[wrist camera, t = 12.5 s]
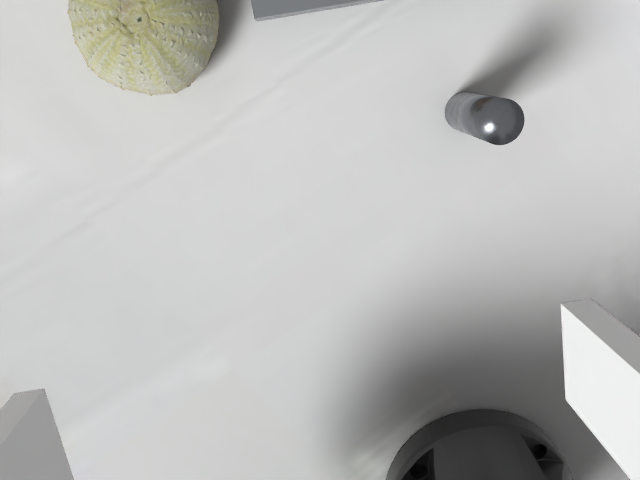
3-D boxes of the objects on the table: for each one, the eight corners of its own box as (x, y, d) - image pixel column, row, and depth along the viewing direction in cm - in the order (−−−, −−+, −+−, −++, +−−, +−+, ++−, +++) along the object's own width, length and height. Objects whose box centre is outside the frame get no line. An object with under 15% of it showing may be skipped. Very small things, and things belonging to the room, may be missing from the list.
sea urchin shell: (158, -107, 36) (193, -31, 32) (218, -7, 43) (253, 66, 39) (29, -29, 37) (48, 56, 33) (108, 57, 44) (132, 135, 40)
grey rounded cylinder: (483, 127, 42) (525, 141, 35) (446, 133, 42) (480, 148, 35) (480, 89, 42) (522, 94, 34) (443, 95, 42) (476, 102, 34)
